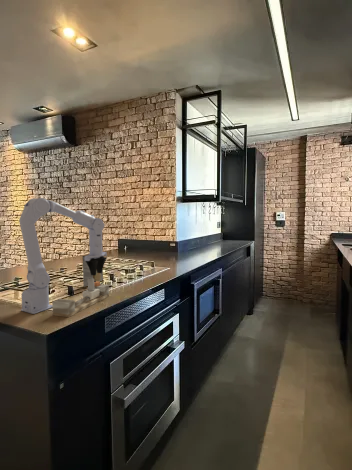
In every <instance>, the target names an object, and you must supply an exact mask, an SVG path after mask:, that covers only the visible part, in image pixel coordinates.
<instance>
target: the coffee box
mask: <svg viewBox="0 0 352 470" xmlns="http://www.w3.org/2000/svg"><path fill="white" fill-rule="evenodd" d="M87 255H88V254H85V255H81V257H82V280H83V281H82V282H83V283H82V284H83V287H86V286H88V279H94V281H98V282H100V281H102V280H103V281H104V269H103V270H102V273H97V269H96V275H91V273H90V269H89V267H88V265H87V263H86V261H85V256H87Z"/></svg>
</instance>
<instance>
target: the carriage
mask: <svg viewBox="0 0 352 470" xmlns="http://www.w3.org/2000/svg"><path fill="white" fill-rule="evenodd" d="M99 293H100V289H95V287H94V279H88V287H87V289H86V290H84V291H82V298H85V297H90V300H92V299H94V298H96V297H98V296H99Z"/></svg>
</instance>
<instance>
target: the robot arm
mask: <svg viewBox="0 0 352 470" xmlns="http://www.w3.org/2000/svg"><path fill="white" fill-rule="evenodd" d="M48 213H56V214H60V215H61V216H65V217H67V218H70V219H71V220H72V222H73V223H75V224H77V225H79V226H81V227H85V228H86V229H88V241H89V242H88V245H89V248H88V251H89V253H88V254H86V255H87V256H85V255H84V256H85V261H86V263H87V265H88V267H89V269H90V273H91V275H96V269H97V273H102V270H103V271H104V267H105V266H104V265H105V264H106V261H107V255H108V252H107V251H103V249H104V248H103V230H104V228H105V226H106V223H104V221H103V219H102V218H100V217H95V215H94V214H89V213H86V211H85V210H83V209H82V210H76V211H75V210H72V209H71V208H68V207H66V206H64V205H63V204H60V203H58V202H56V201H53V200H50V199H46V198H44V197H38V198H31V199H29V200H28V201H27V202H26V203H25V204H24V207H23V210H22V212H21V214H20V217H19V220H18V221H19V226H20V230H21V236H22V240H23V245H24V249H25V254H26V258H27V266H26V267H27V273H26V279H27V281H28V283H29V284H28V288H27V289H24V290H23V291H22V292H21V309H20V311H22V312H25V313H28V314H31V315H32V314H33V315H34V314H37V313H40V312H44V311H47V310H49V309H53V306H52V304H50V294H49V293H50V292H49V291H50V290H49V285H50V281H51V277H50V274H49V273H48V272H47V269H46V267H45V265H44V263H43V259H42V253H41V250H40V243H39V239H38V233H37V229H36V225H35V224H36V223H37V221H38V220H40V218H41V217H43V216H45V215H47V214H48Z"/></svg>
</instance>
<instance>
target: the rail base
mask: <svg viewBox="0 0 352 470" xmlns="http://www.w3.org/2000/svg"><path fill="white" fill-rule="evenodd" d="M94 287H95V289H100V293H99V296H98V297H96V298H94V299H92V300H90V297H85V298H83V297H82V298H81V299H78V300H76V301H75V300H73V299H67V298H66V299H64V298H58V299H56V300H53V301H52V304H51V305H52V306H53V307H52V316H56V317H57V316H58V317H62V318H70V317H72V316H74V315H76V314H78V313H80V312H81V311H83V310H86V309H87V308H88V307H91V306H93V305H94V304H95V305H96V304H97V303H98V302H100V301H102V300H105V299H106V298H108V297H110V285H109V284H103V283H102V284H100V286H94Z"/></svg>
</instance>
